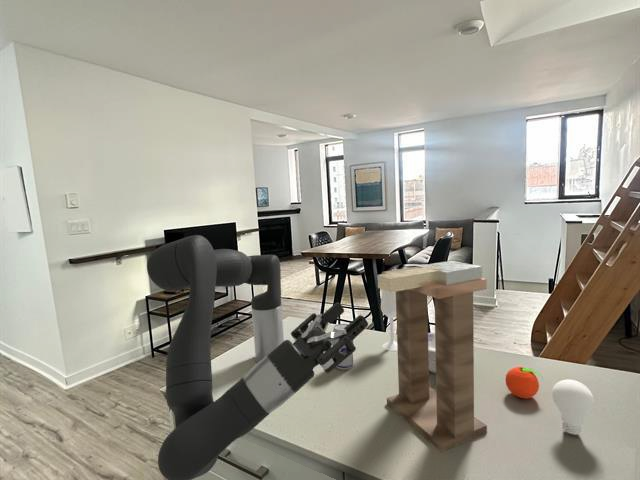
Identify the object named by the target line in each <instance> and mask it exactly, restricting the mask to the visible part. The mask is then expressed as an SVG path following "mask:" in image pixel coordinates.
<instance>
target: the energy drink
mask: <svg viewBox="0 0 640 480" xmlns="http://www.w3.org/2000/svg"><path fill="white" fill-rule="evenodd" d="M348 324H349V323H348ZM348 324H347V323H339V324H335V325H334V326H333V329H332V331H333V333H336V332H339V331H341V330H345V329H344V328H345V327H346V326H347V325H348ZM341 339H342V338H339V339H337V340H338V341H339V340H341ZM346 349H347V348H346V347H345V348H342V349H341V351H340V353H342V352H343V351H344V350H346ZM353 353H354V352H353ZM353 353H352V354H351V355H349V356H348V357H347V358H346V359H345V360H344V361H342V362H341V363H340V364H339V365H338V366H336V367H335V368H336V369H337V370H340V371H346V370H351V369H352V368H353V367H354V354H353Z"/></svg>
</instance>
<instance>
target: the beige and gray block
mask: <svg viewBox="0 0 640 480" xmlns="http://www.w3.org/2000/svg"><path fill="white" fill-rule="evenodd" d="M417 266H418V269H412V270H405V271H399V272H393V273H386V274H382V273H381V274H377V289H380V290H381V291H382V290H385V291H388V292H390V293H391V292H396V291H402V290H407V289H412V288H418V287H423V286H429V285H434V284H442V285H446V286H448V285H453V284H458V283H463V282H469V281H474V280H479V279H482V278H483V266H482V265H477V264H471V263H466V262H461V261H460V262H459V261H455V260H454V261H453V260H449V261H440V262H434V263H429V264H422V265H417Z"/></svg>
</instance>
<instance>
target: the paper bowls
mask: <svg viewBox="0 0 640 480" xmlns="http://www.w3.org/2000/svg"><path fill="white" fill-rule="evenodd" d="M428 353H429V372H432V373H434V374H436V352H435V331H434V332H428Z"/></svg>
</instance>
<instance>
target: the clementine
mask: <svg viewBox="0 0 640 480" xmlns="http://www.w3.org/2000/svg"><path fill="white" fill-rule="evenodd" d="M536 374H537V375H539V376H540V377H541V378H543V377H542V375H541V374H540V373H539V372H537V371H535V370H533V369H531V368H527V367H523V366H515V367H512V368H511V369H509V370H508V371H507V373H506V375H505V385H506V387H507V390H508V391H510V393H511V394H513V396H515V397H518V398H520V399H530V398H533V397H534V396H536V395H537V393H538V392H539V390H540V389H539V388H540V384H539V383H540V382H539V379H538V378H537V377H538V376H536Z"/></svg>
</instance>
